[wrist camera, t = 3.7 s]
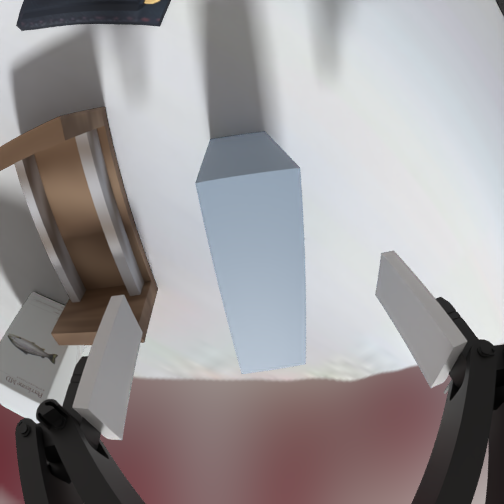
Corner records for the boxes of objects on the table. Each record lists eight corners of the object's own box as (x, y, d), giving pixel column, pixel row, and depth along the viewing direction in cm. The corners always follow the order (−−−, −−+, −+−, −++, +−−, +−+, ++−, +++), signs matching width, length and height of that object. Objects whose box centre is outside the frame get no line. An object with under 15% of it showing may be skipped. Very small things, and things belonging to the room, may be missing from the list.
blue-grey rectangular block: (210, 139, 20) (195, 183, 11) (264, 131, 20) (300, 167, 11) (234, 273, 26) (241, 374, 17) (278, 266, 26) (305, 363, 17)
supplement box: (86, 310, 27) (46, 407, 17) (85, 349, 31) (57, 434, 20) (32, 288, 25) (-19, 372, 15) (36, 329, 29) (0, 407, 18)
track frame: (22, 142, 18) (-28, 164, 12) (104, 106, 18) (59, 116, 12) (82, 298, 26) (58, 345, 21) (157, 288, 26) (144, 342, 21)
